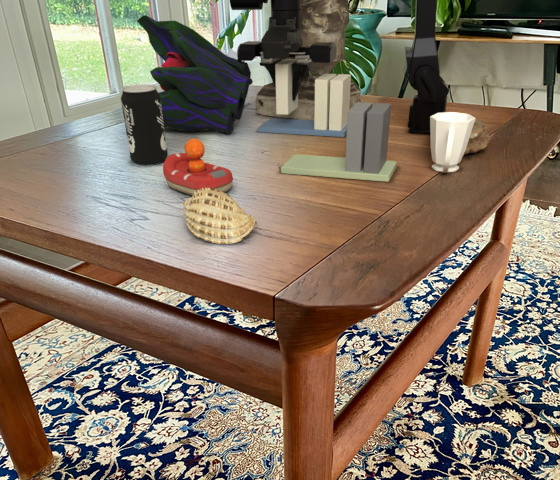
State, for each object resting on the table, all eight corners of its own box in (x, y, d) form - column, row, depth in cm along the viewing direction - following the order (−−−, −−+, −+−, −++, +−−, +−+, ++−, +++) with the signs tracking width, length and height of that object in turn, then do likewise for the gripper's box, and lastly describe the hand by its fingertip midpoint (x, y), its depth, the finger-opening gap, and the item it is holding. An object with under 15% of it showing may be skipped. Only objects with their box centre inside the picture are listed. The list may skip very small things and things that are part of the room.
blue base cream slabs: (352, 127, 121) (355, 74, 115) (343, 137, 114) (346, 81, 109) (270, 122, 125) (269, 71, 119) (258, 131, 119) (256, 78, 113)
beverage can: (160, 167, 101) (150, 91, 94) (125, 165, 102) (112, 90, 95) (173, 156, 106) (164, 84, 99) (139, 154, 107) (128, 83, 100)
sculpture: (254, 114, 132) (247, -49, 114) (294, 101, 143) (294, -50, 125) (323, 124, 123) (328, -51, 106) (361, 109, 134) (371, -51, 117)
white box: (298, 107, 121) (298, 58, 116) (288, 114, 116) (287, 64, 111) (286, 106, 122) (286, 58, 117) (276, 114, 116) (275, 64, 111)
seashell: (248, 241, 81) (181, 210, 80) (265, 203, 78) (196, 170, 76) (240, 265, 75) (167, 232, 73) (258, 225, 72) (182, 189, 70)
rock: (489, 162, 99) (495, 131, 96) (425, 159, 102) (429, 128, 99) (486, 142, 110) (491, 113, 107) (428, 139, 112) (431, 111, 109)
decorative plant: (221, 185, 121) (89, 138, 123) (265, 108, 132) (144, 66, 134) (223, 99, 102) (68, 45, 104) (274, 19, 114) (133, -29, 116)
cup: (466, 163, 99) (475, 112, 94) (467, 181, 91) (476, 127, 87) (424, 161, 101) (430, 111, 96) (422, 179, 93) (428, 125, 88)
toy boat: (193, 176, 96) (187, 127, 92) (241, 191, 90) (238, 139, 85) (156, 187, 92) (148, 137, 87) (204, 204, 85) (199, 151, 81)
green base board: (396, 167, 98) (402, 103, 92) (388, 182, 92) (394, 114, 86) (294, 159, 103) (294, 98, 97) (280, 173, 97) (279, 108, 91)
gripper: (223, 13, 105) (229, 106, 114) (323, 13, 100) (321, 110, 109) (245, 8, 113) (249, 95, 123) (338, 8, 108) (335, 98, 118)
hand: (287, 100), depth 118 cm, fingers closed on white box, 2 cm apart
